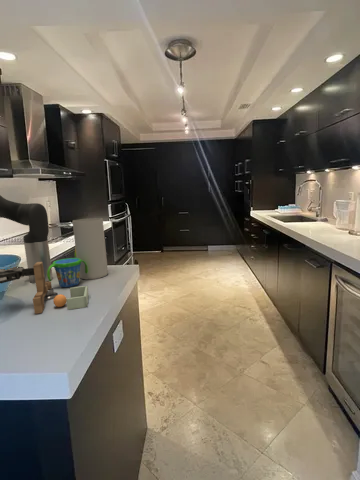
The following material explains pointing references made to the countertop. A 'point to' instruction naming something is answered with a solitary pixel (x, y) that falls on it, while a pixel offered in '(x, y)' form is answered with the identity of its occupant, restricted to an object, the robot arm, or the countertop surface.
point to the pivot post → (50, 294)
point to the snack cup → (67, 271)
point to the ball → (59, 300)
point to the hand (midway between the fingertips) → (36, 271)
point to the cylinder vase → (91, 247)
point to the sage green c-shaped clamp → (78, 297)
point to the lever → (40, 288)
